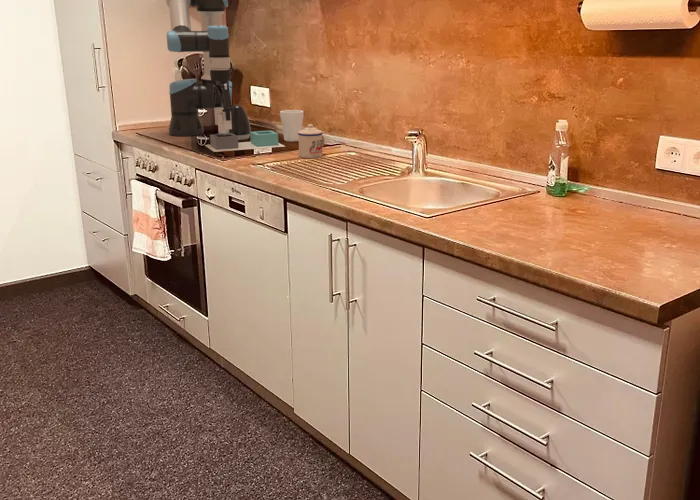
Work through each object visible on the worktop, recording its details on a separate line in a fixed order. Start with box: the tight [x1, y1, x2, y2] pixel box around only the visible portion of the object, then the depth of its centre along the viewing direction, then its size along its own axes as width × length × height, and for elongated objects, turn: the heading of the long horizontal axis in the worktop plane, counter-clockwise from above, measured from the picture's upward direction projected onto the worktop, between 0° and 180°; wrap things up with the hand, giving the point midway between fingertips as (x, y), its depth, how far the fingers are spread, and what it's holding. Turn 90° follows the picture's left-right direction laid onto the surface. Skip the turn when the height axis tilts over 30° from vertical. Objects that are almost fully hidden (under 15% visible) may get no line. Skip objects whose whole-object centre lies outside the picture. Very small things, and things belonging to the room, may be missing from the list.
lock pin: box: [217, 112, 229, 137], centre depth 264 cm, size 4×4×13 cm
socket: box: [250, 130, 279, 147], centre depth 272 cm, size 9×9×4 cm
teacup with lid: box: [298, 123, 325, 159], centre depth 256 cm, size 12×9×12 cm
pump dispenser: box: [229, 104, 252, 141], centre depth 284 cm, size 10×10×15 cm
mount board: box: [204, 133, 286, 153], centre depth 269 cm, size 16×28×6 cm, turn 114°
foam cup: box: [279, 109, 305, 142], centre depth 280 cm, size 10×9×13 cm
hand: (223, 126), depth 264 cm, fingers open, 13 cm apart
